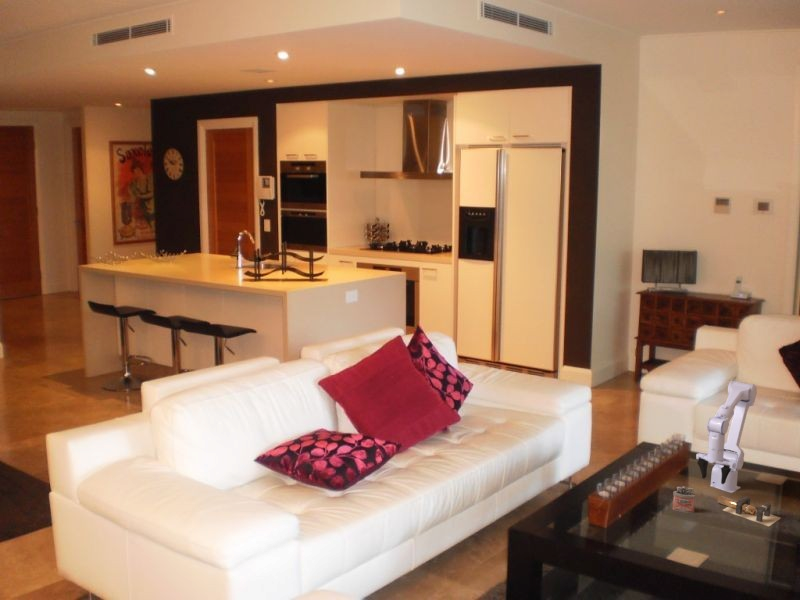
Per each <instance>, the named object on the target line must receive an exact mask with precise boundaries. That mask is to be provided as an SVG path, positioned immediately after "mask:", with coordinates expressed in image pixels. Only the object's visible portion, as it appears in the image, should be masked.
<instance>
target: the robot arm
mask: <svg viewBox="0 0 800 600" xmlns="http://www.w3.org/2000/svg"><path fill="white" fill-rule="evenodd" d="M757 389H758V388H757V386H756V385H755V384H751V383H746V382H740V381H736V380H731V381H730V382H729V383H728V386H727V399H726V401H725V403H724V404H721V405H720V406H719V407H718V409H717V411H716V413H715V414H714V416H713V417H710V418H709V419H708V420H707V425H706V429H707V436H708V447H707V453H701V452H698V453H696V456H695V457H696V458H695V459H696V460H697V465H698V467H699V470H700V472H701V479H705V478H707V475H708V472H707V471H708V465H709V463H710V464H714V466H713V467H712V470H711V475H710V477H711V478H710V485H709V486H710V487H712V488H716V489H719V490H722V491H723V492H727V493H730V494H733V493H734V492H736V491H737V490H740V489H741V486H738V473H739V471H740V470H741V469H742V468H743V465H744V463H745V462H744V461H745V460H744V458H745V452H744V450H743V449H742V448H741V447H740V442H741V438H742V435H743V432H744V431H743V430H744V426H745V422H746V418H747V414H748V411H749V409H750V407H752V406H754V404H755V401H756V398H757V393H758V391H757ZM728 430H729V431H728ZM727 432H728V434H727ZM726 434H727V440H726ZM725 440H726V441H725Z"/></svg>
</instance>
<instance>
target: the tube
mask: <svg viewBox="0 0 800 600" xmlns="http://www.w3.org/2000/svg"><path fill="white" fill-rule="evenodd" d="M737 501H738V500H735V499H732V498H729V497H726V496H723V495H718V497H717V501H716V502H717V504H721V505H722V506H726V507H728V506H729V507H732V508H734V509H736V502H737ZM756 510H757V507H756V506H753V505H751V504H750V505H747V504H744V503H743V504H742V511H743V512H746V513H749V514H752V515H754V514H755V513H756Z"/></svg>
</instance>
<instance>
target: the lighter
mask: <svg viewBox="0 0 800 600" xmlns="http://www.w3.org/2000/svg"><path fill="white" fill-rule="evenodd" d="M695 499H696V494H695V488H691V487H686V486H676V490H674V491H673V501H672V510H673V511H676V512H680V513H688V514H694V513H695V511H696V510H695V506H696V505H695V504H696V502H695V501H696V500H695Z"/></svg>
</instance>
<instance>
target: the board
mask: <svg viewBox="0 0 800 600" xmlns="http://www.w3.org/2000/svg"><path fill="white" fill-rule="evenodd" d="M736 501H737V502H736V509H734V508H732V507H729V506H726V507H725V508H724V509H722V511H724V512H726V513H728V514H729V513H730V514H732V515H734V516H738V517H741V518H744V519H747V520H749V521H752V522H755V523H758V524H761V525H764V526H767V527H770V526H772V525H773V524H775V523H776V522H777V521H779V520H780V519H781V517H780V516H777V515H774V514H772V513H771V509H772V508H771V506H772V504H771V503H770V502H765V503H764V504H763V505H761V506H759V507H758V508H756V513H755V514H754V515H752V514H749V513H746V512H743V511H742V504H743V503H744V504H747V505H750V506H751V496H748V495H746V496H744V497H742V498H741V499H739V500H736Z"/></svg>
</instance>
